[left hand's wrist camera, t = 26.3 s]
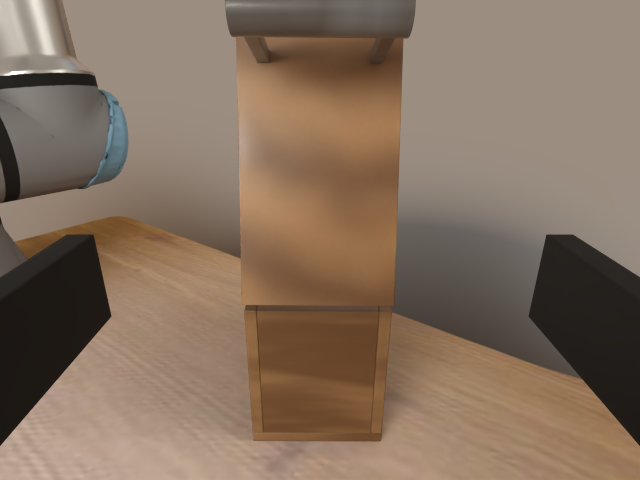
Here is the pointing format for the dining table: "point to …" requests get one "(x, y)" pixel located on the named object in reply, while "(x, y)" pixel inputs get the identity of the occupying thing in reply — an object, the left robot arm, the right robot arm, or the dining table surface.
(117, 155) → the right robot arm
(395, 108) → the lid
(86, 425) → the dining table surface
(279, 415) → the chest
